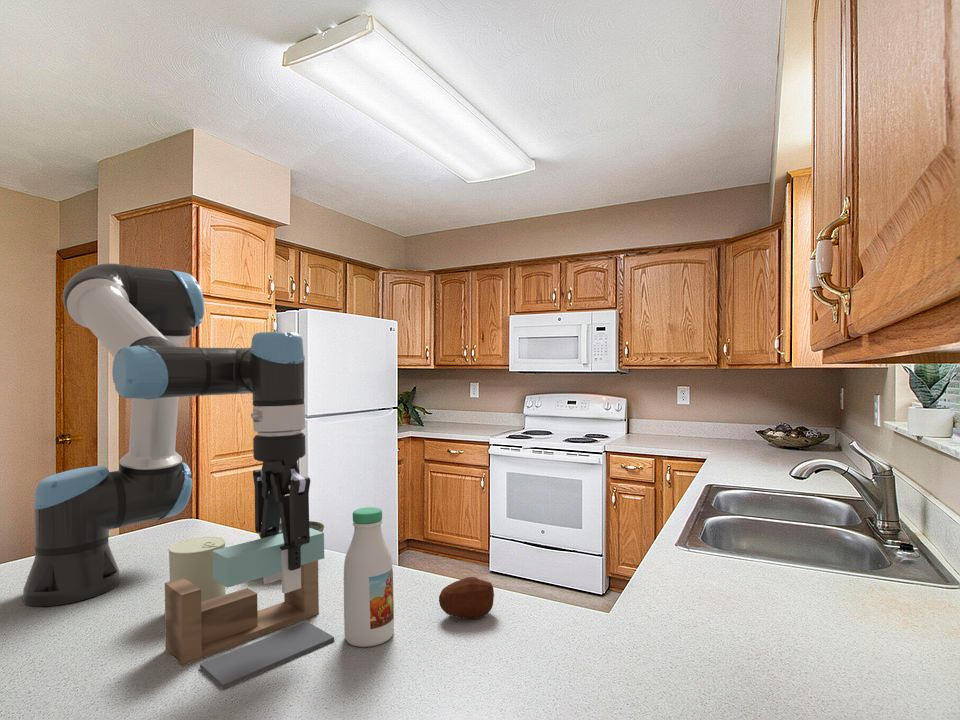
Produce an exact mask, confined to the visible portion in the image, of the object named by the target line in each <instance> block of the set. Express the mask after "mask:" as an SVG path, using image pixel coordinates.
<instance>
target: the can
mask: <svg viewBox="0 0 960 720" xmlns="http://www.w3.org/2000/svg"><path fill="white" fill-rule="evenodd" d="M222 548H226V539H225V538H222V537H218V536H204V537H201V536H200V537H195V538H190V539H189V538H188V539H185V540H182V541H179V542H176V543H174V544H172V545H171V546H169V547H168V558H169V560H168V562H169V564H168V565H169V567H168V568H169V582H170V581H174V580H177V579H181V578H185V579H186V580H188V581H189V582H191V583H192V584H194V585H195V586H197V587H198V588H200V589H201V602H204V601H207V600H210V599H213V598H216V597H220V596H223V595H226V594H227V593H226V586H224V585H222V584H221V583H219V582H217V581H216V580H214V579H213V551H214V550H218V549H222Z"/></svg>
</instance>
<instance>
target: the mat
mask: <svg viewBox="0 0 960 720" xmlns="http://www.w3.org/2000/svg"><path fill="white" fill-rule="evenodd" d="M333 642H335V636H333V635H331V634H330V633H328V632H326V630H325V631H324V630H323V629H321V628H320V627H318V626H316V625H314V624H313V623H311V622H309V621H306V622H303V623H301V624H298V625H295V626H292V627H291V628H290V627H289V628H288V629H285V630H282V631H280V632H277V633H276V634H273V635H269V636H266V637H264V638H262V639H260V640H257V641H254V642H251V643H250V644H246V645H244V646H242V647H239V648H236V649H234V650H231V651H229V652H227V653H224V654H222V655H219V656H216V657H214V658H211V659H209V660H206V661H203V662H201V663H199V669H200V670H202V672H204V673H205V674H206V676H208V677H209V678H210V679H212V681H213V682H215V684H217V685H218V686H219V687H220V688H221V689H222V690H225V689H227V688H230V687H232V686H234V685H237V684H238V683H240V682H243V681H245V680H249V679H250V678H253V677H255V676H257V675H260V674H261V673H264V672H267V671H268V670H270V669H273V668H275V667H276V668H277V667H278V666H279V665H280V666H281V665H282V664H284V663H287V662H289V661H291V660H294V659H297V658H298V657H301V656H303V655H305V654H307V653H310V652H313V651H314V650H318V648H319V649H320V648H321V647H323V646H326V645H328V644H330V643H333Z"/></svg>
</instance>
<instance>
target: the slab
mask: <svg viewBox="0 0 960 720" xmlns="http://www.w3.org/2000/svg"><path fill="white" fill-rule="evenodd" d="M309 529H310V542H309V543H307V544H304V545H302V546H301V565H304V564H307V563H310V562H314V561H317V560H318V561H320V560H323V559H325V534H324V533H325V532H324V531H323V532H320V531H317V530H315V529H312V528H309ZM280 546H284V539H283V533H281V534H277V535H273V536H269V537H265V538H262V539H260V538H259V539H254V540H250V541H247V542H242V543H238V544H235V545H231V546H225V548H222V549H218V550H214V551H213V579H214V580H216V581H217V582H219V583H221V584H222V585H224V586H225V588H231V587H234V586H235V587H236V586H238V585H241V584H244V583H248V582H251V581H254V580H255V581H256V580H257V579H261V578H264V576H268V575H271V574H274V573H278V572H281V571H282V569H281V549H280Z"/></svg>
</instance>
